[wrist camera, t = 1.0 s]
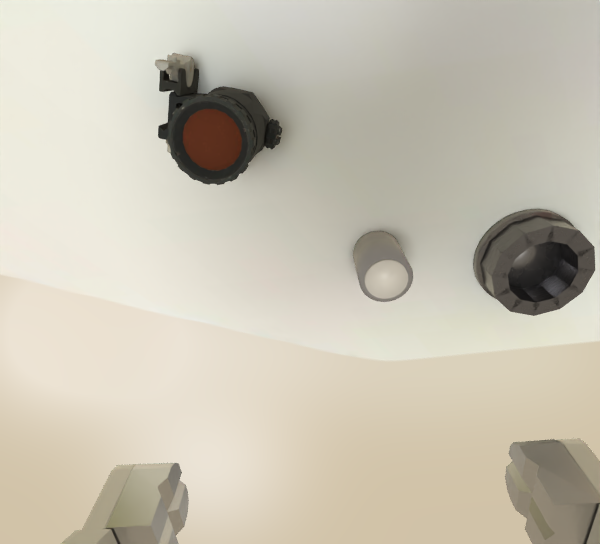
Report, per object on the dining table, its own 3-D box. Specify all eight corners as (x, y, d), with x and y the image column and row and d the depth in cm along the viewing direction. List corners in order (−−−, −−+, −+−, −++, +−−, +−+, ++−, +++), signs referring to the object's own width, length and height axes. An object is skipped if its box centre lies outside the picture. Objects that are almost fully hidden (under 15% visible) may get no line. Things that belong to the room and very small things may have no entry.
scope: (110, 43, 23) (284, 83, 23) (180, 53, 35) (293, 79, 36) (110, 184, 26) (262, 214, 27) (174, 148, 39) (276, 170, 39)
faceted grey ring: (536, 188, 40) (558, 199, 36) (594, 252, 43) (621, 268, 39) (453, 260, 43) (466, 277, 40) (512, 314, 46) (529, 335, 43)
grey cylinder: (376, 221, 42) (387, 244, 36) (409, 250, 43) (424, 277, 37) (343, 255, 43) (348, 282, 38) (376, 282, 45) (385, 312, 39)
